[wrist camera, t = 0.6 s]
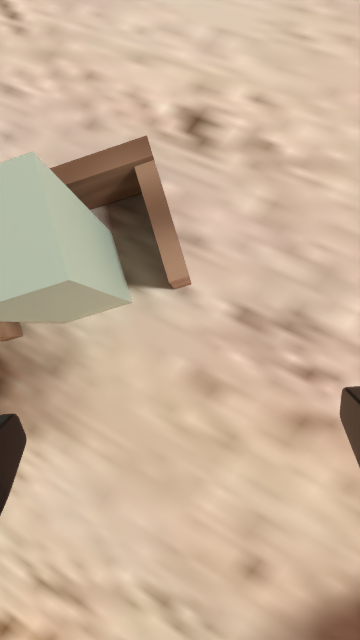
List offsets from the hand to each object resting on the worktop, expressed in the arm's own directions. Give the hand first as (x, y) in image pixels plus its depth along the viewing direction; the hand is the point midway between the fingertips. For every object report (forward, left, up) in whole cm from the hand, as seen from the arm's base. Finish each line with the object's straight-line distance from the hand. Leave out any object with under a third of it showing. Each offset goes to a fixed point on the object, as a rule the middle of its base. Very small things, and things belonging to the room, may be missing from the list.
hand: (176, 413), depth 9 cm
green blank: (+4, +8, -13) cm, 16 cm away
